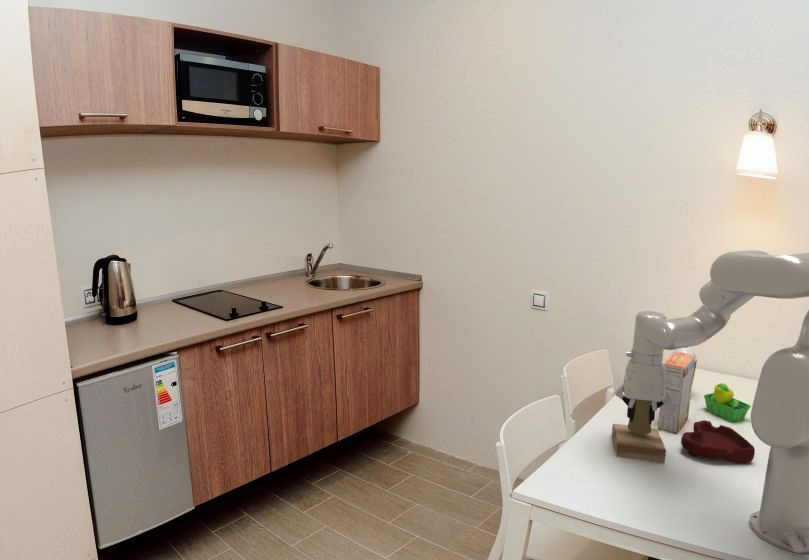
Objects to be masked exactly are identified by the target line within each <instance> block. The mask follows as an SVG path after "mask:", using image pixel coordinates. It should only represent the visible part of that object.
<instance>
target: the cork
mask: <svg viewBox="0 0 809 560" xmlns="http://www.w3.org/2000/svg"><path fill="white" fill-rule="evenodd" d="M651 403H652V401H646V400H635V402H634V409H635V410H634V418H633V422H630V419H629V418H628V423H627V425H628V429H629V430H630V431H632V432H635V433H638V434H649V433H651V428H652V424H650V420H649V416H650V405H651Z"/></svg>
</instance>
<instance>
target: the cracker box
mask: <svg viewBox="0 0 809 560" xmlns="http://www.w3.org/2000/svg"><path fill="white" fill-rule="evenodd" d="M694 362H695V355H690V354H685V353H680V352H675V353H674V354H673V355H672V357H671V358H670V357H669V358H668V359H667V360H666V361H665V362H664V363H663V364H664V365H665V368H666V392H667V394H668V395H669V397H670V399H671V401H670V402H668V403H666V404H663V405H662V406H661V407H659V411H658V412H659V413H658V421H657V422H658V423H657V430H662V431H665V432H669V433H672V434H676V435H677V434H678V433H679V432H680V431H681V429H682V428H683V426H684V424H685V423H686V422H687V420H688V419H689V412H690V403H691V397H692V396H691V395H692V389H691V388H692V387H693V384H692V379H693V371H694ZM693 380H694V379H693Z"/></svg>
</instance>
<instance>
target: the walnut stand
mask: <svg viewBox="0 0 809 560" xmlns="http://www.w3.org/2000/svg"><path fill="white" fill-rule="evenodd" d="M611 440H612V444H613V448H614V452H616V453H615V456H616V457H618V456H620V457H619V458H625V457H626V459H632V458H633V460H640V461H647V460H648V461H649V462H654V461H656V462H655V463H661V462H663V463H664V464H665V462H666V454H667V449H666V447H665V444H664V441H663V439H662V437H661V434H660V432H659V429H658V428H652V427H651V433H649V434H638V433H635V432H632V431H630V430H629V429H628V424H621V423H613V424H612V427H611ZM648 461H647V462H648Z"/></svg>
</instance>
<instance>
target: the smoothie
mask: <svg viewBox="0 0 809 560" xmlns="http://www.w3.org/2000/svg"><path fill="white" fill-rule="evenodd" d="M675 352H680V353H685V354H690V355H695V362H694V371H693V379H692V385H693V383H694V378H695V373H696V369H697V368H696V367H697V364H698V358H697V355H696V353H695V351H694V350H693V349H691V348H690V347H684V348H680V349H674V350H673V351H672V353H670V355H669V356H670V357H669V359H670V358H671V357H672V355H673V354H674V353H675ZM691 390H692V388H691Z"/></svg>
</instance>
